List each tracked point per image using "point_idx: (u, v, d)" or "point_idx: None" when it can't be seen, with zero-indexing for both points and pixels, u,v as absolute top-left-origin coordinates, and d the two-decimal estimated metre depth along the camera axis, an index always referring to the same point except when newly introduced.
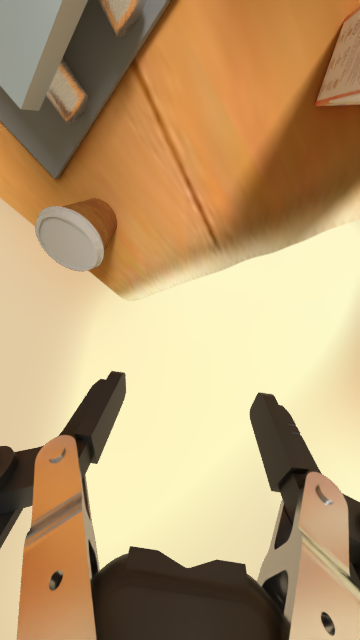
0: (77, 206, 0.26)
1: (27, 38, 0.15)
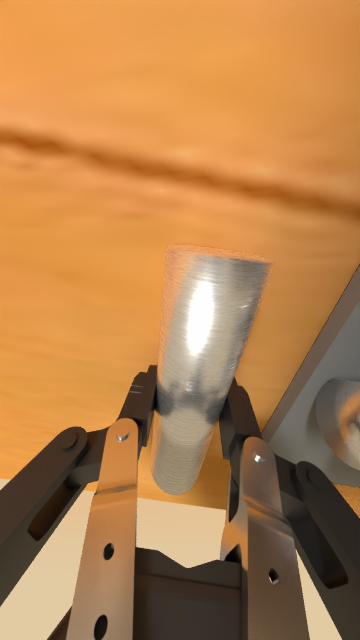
0: None
1: None
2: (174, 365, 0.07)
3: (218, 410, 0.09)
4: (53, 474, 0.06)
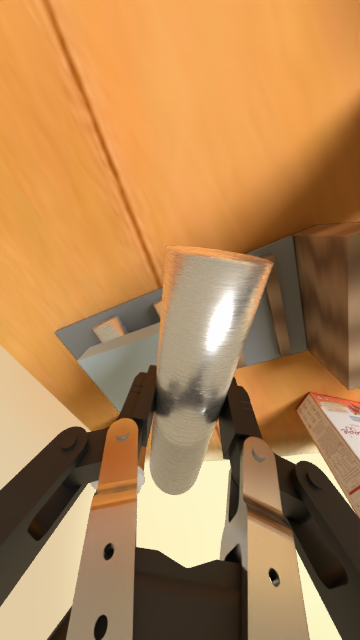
0: None
1: None
2: (174, 366, 0.07)
3: (217, 411, 0.09)
4: (53, 474, 0.06)
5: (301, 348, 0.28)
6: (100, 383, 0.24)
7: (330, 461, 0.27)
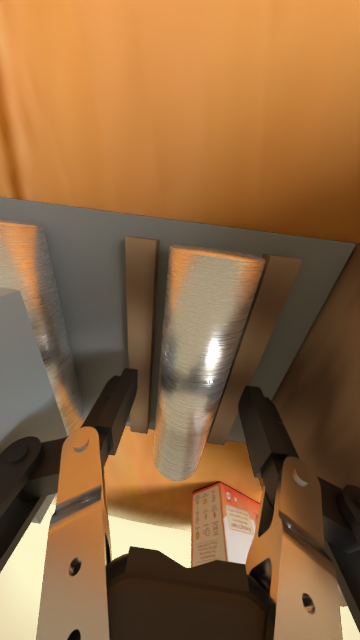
0: None
1: None
2: (177, 354, 0.08)
3: (216, 397, 0.09)
4: (3, 489, 0.05)
5: (241, 438, 0.17)
6: None
7: None
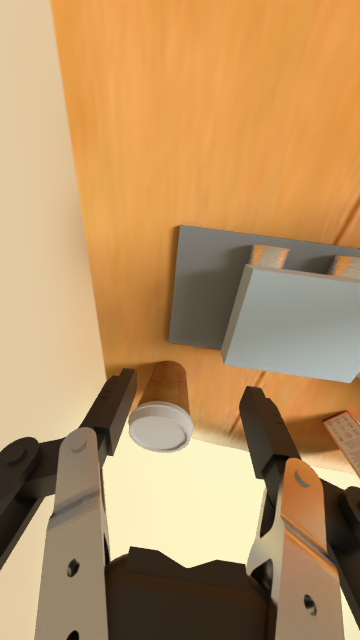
0: (184, 398, 0.27)
1: (267, 363, 0.21)
2: None
3: None
4: (0, 491, 0.05)
5: None
6: (248, 311, 0.18)
7: None
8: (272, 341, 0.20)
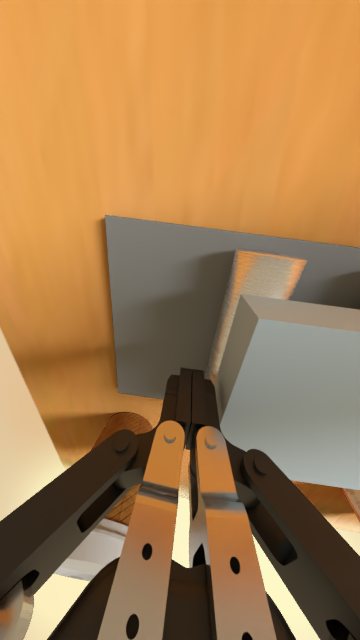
0: (135, 489, 0.17)
1: (282, 470, 0.12)
2: None
3: None
4: (104, 474, 0.06)
5: None
6: (246, 396, 0.09)
7: None
8: (294, 442, 0.10)
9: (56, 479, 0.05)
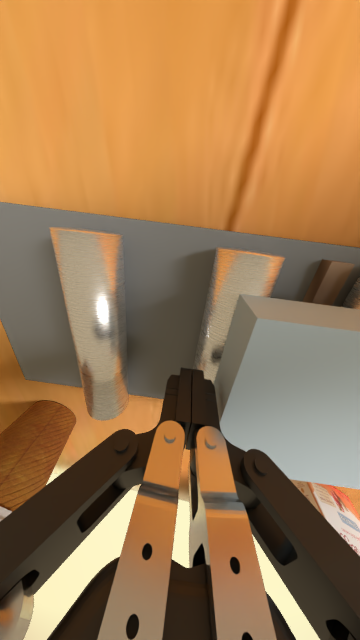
0: (25, 472, 0.17)
1: (282, 469, 0.12)
2: None
3: None
4: (104, 474, 0.06)
5: None
6: (245, 395, 0.09)
7: None
8: (292, 441, 0.10)
9: (56, 478, 0.06)
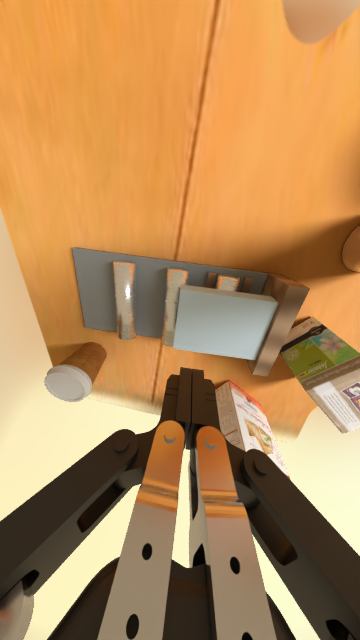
0: (90, 365, 0.39)
1: (200, 347, 0.33)
2: None
3: None
4: (104, 474, 0.06)
5: None
6: (181, 313, 0.30)
7: (221, 420, 0.40)
8: (200, 332, 0.32)
9: (56, 478, 0.05)
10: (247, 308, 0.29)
